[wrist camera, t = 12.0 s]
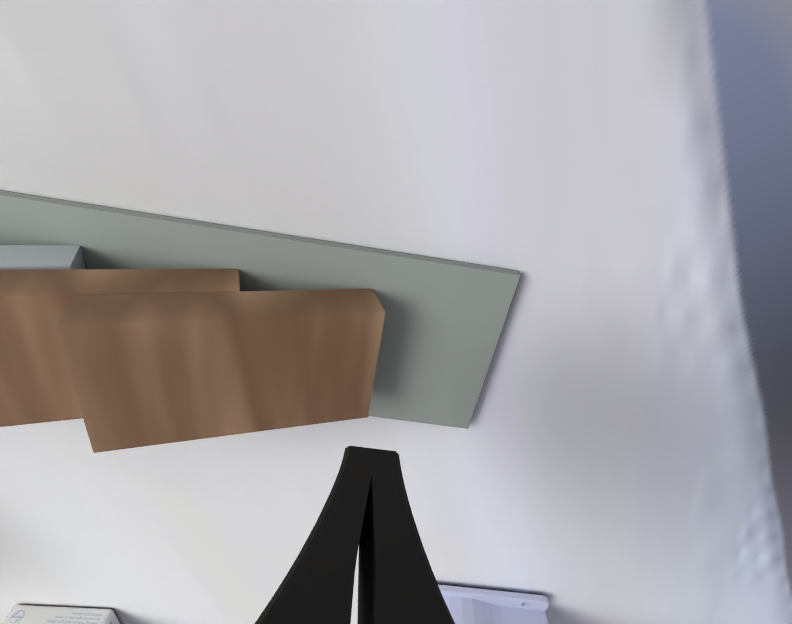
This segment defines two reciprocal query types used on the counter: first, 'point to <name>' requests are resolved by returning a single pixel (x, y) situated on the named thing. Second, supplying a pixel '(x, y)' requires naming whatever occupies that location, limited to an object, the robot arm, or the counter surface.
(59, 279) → the domino
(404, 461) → the counter surface
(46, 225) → the rubber mat
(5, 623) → the light bulb box
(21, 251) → the grey domino
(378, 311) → the domino
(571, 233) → the counter surface
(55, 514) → the counter surface
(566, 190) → the counter surface
